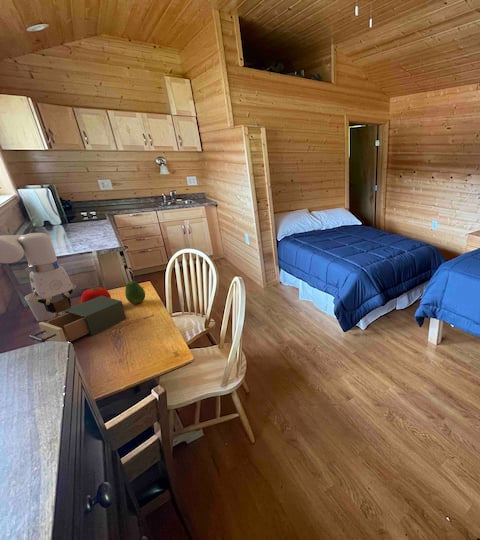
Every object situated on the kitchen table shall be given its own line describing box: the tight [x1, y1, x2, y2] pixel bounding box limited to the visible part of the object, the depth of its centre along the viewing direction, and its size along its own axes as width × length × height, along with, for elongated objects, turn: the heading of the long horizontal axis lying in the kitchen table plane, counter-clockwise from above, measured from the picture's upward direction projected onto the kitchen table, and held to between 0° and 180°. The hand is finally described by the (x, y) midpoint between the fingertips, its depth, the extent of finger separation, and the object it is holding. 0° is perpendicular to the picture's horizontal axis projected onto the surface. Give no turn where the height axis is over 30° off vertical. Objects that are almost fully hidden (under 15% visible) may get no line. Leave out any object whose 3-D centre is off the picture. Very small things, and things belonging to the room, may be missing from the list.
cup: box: [24, 292, 57, 322], centre depth 132 cm, size 8×8×12 cm
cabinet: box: [64, 296, 127, 337], centre depth 132 cm, size 15×13×10 cm
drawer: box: [28, 313, 90, 343], centre depth 121 cm, size 18×11×8 cm, turn 162°
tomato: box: [80, 286, 112, 303], centre depth 143 cm, size 10×11×11 cm
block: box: [50, 295, 71, 314], centre depth 117 cm, size 4×4×4 cm
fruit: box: [124, 280, 146, 305], centre depth 150 cm, size 8×8×12 cm
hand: (59, 308), depth 118 cm, fingers closed on block, 4 cm apart
